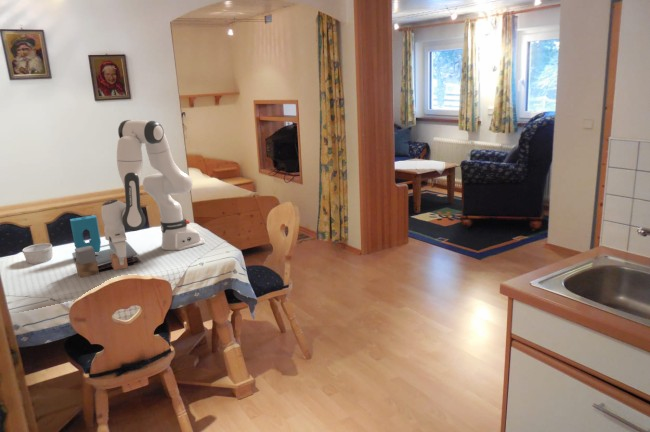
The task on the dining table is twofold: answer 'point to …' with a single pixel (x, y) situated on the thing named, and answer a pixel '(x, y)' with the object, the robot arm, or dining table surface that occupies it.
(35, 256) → the ramekin
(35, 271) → the dining table surface
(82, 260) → the tower top
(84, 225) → the block
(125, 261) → the terracotta cube
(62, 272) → the dining table surface
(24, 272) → the dining table surface
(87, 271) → the tower base
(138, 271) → the dining table surface
